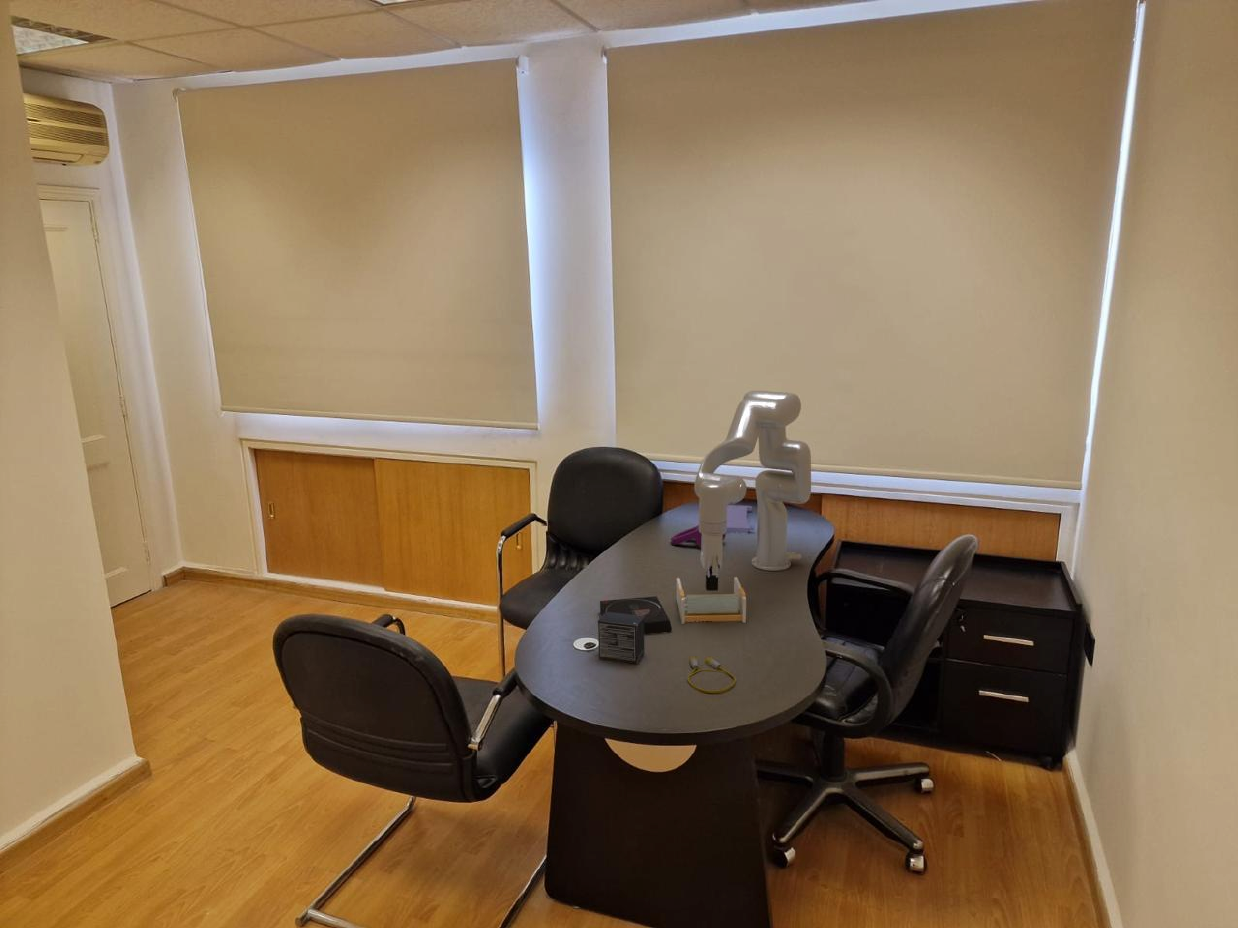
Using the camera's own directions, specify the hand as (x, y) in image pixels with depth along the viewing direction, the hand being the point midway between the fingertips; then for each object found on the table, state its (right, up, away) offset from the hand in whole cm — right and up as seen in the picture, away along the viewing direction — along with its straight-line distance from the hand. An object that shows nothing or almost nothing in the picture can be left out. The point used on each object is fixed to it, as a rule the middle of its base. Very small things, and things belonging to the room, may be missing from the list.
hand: (711, 589), depth 223 cm
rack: (0, -7, +6) cm, 9 cm away
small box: (-25, -14, -19) cm, 35 cm away
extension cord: (-4, -17, -31) cm, 35 cm away
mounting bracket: (+2, +6, +61) cm, 61 cm away
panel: (0, -8, +2) cm, 9 cm away
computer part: (+18, +12, +87) cm, 90 cm away
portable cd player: (-21, -10, 0) cm, 23 cm away
